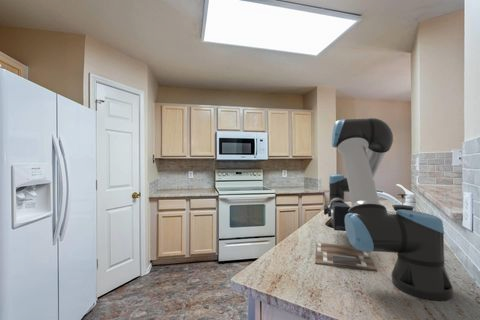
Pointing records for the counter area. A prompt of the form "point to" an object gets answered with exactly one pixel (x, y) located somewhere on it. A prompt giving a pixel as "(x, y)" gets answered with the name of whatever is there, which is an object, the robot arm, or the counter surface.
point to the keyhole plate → (343, 256)
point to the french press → (402, 207)
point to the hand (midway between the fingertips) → (341, 216)
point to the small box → (339, 215)
